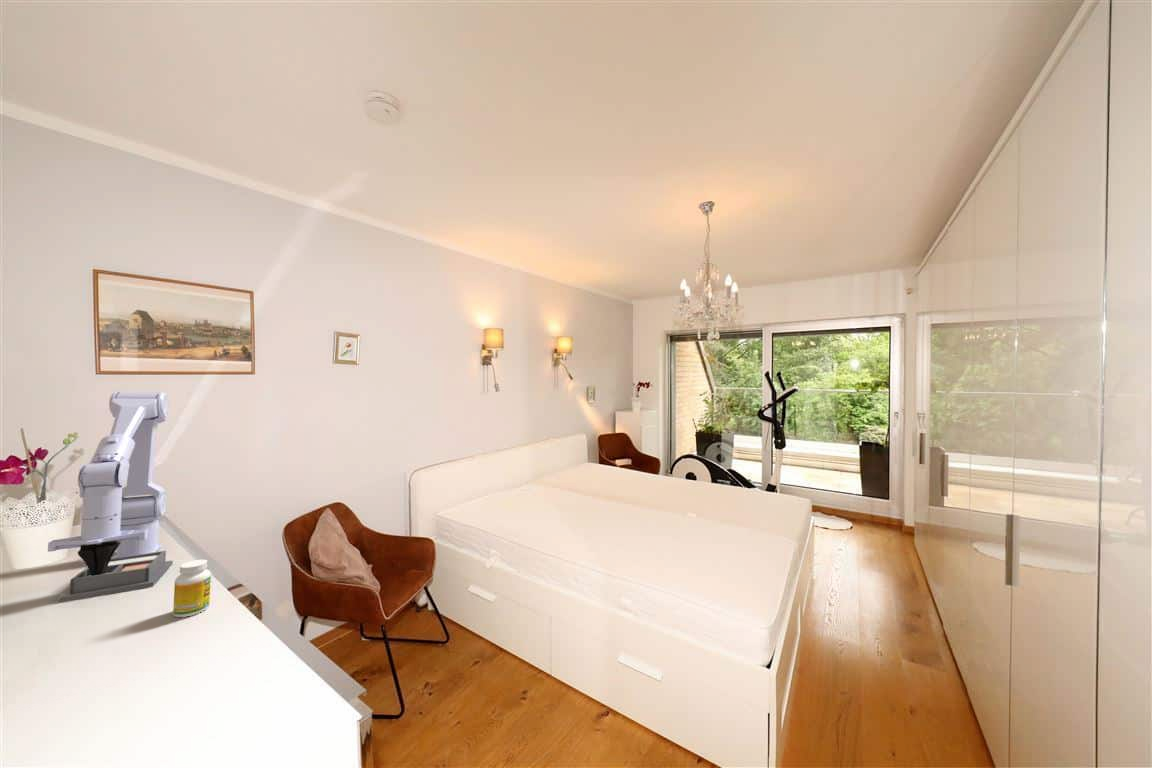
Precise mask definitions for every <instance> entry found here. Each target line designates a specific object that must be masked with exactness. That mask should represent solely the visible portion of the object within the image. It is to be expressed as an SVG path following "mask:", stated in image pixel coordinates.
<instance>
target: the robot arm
mask: <svg viewBox="0 0 1152 768" xmlns="http://www.w3.org/2000/svg"><path fill="white" fill-rule="evenodd" d="M108 407H109V411H110V413H111V414H112V417H113V418H114V421H113V425H112V428H111V432H110V434H109V435H107V436H105V437H103V438H101V439H100V441H99V443H98V445H97V448H96V449H95V450H94V451H95V452H94V453H93V456H92V458H91V459H90V462H88V463H87V464H85V465H82V466H81V467H80V469H79V470H78V475H77V485H78V489H79V497H80V498H82V506H81V508H82V509H81V524H80V525H81V526H80V535H78V536H72V537H65V538H60V539H59V538H58V539H53V540H51V541H49V542H48V543H47V552H48V553H50V552H51V553H52V552H56V551H57V550H58V551H59V550H65V549H66V550H67V549H68V550H69V549H73V548H75V549H76V548H79V550H78V551H77V555H78V557H80V558H81V559H82V560H83V562H84V563H85V565H86V566H87V567H88V569H89V571H90V574H91V576H93V575H100V574H105V572H106V569H107V566H108V564H109V562H110V560H111V558H116V557H124V556H131V555H138V554H146V553H153V552H158V551H159V549H161V548H162V547H163V545H164V543H159V537H160V535H159V534H160V522H159V521H158V519H159V518H161V517H162V516H164V514H165V513H166V507H167V497H166V492H167V491H166V489H165V488H164V487H162V486H160V485H158V484H156V483H153V477H154V476H153V475H154V463H155V462H154V461H155V449H156V437H157V436H156V435H157V430H158V426H159V424H161V423H164V422H166V421H167V418H168V411H169V397H168V395H167V394H166V393H165V392H163V391H160V392H148V391H143V392H141V391H140V392H139V391H137V392H136V391H135V392H134V391H121V390H120V391H119V390H118V391H115V392H114V393H112V394H111V395H110V398H109V403H108ZM125 485H126V486H125ZM124 486H125V487H124ZM114 554H115V555H114ZM87 567H86V568H87Z"/></svg>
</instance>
